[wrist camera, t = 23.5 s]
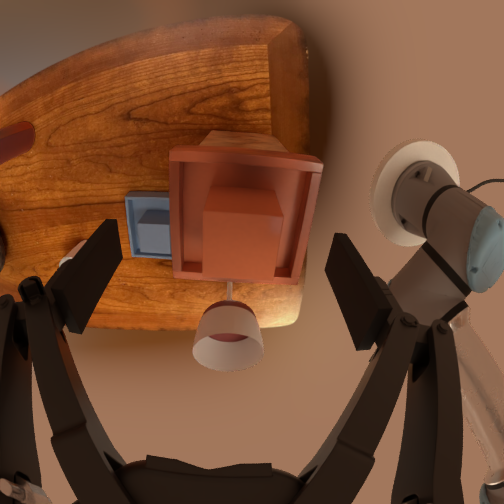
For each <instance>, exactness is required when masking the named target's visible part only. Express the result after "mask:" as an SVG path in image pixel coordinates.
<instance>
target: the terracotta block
mask: <svg viewBox="0 0 504 504" xmlns="http://www.w3.org/2000/svg"><path fill="white" fill-rule="evenodd" d="M283 221H284V215H283V213H282V210H281V207H280V204H279V201H278V198H277V196H276V193H275V191H274V190H264V189H252V188H239V187H224V186H210V190H209V193H208V196H207V199H206V203H205V206H204V209H203V230H202V276H203V277H214V278H230V279H248V280H268V281H273V279H274V273H275V268H276V262H277V256H278V250H279V245H280V239H281V233H282V227H283Z"/></svg>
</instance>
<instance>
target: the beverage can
mask: <svg viewBox="0 0 504 504" xmlns="http://www.w3.org/2000/svg"><path fill="white" fill-rule="evenodd" d="M34 139H35V132H34V128H33V126H32V125H31V124H30V123H28V122H25V121H24V122H20V123H17V124H14V125H11V126H8V127H5V128H2V129H0V164H2V163H4V162H6V161H8V160H10V159H13V158H15V157H17V156H19V155H21V154H23V153H25V152H27V151H29V150H30V149H31V147H32V145H33V143H34Z"/></svg>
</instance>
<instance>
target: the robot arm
mask: <svg viewBox="0 0 504 504" xmlns="http://www.w3.org/2000/svg"><path fill="white" fill-rule="evenodd" d="M491 182H504V179H490V180H486V181H484V182H482V183H480V184H478V185H476V186H474V187H473V188H471V189H469V190H467V191H465V190H463V189H462V188H460V187H458V186H457V184H456V183H455V182H454V180H453V179H452V178H451V176H450V175H449V174H448V173H447V171H446V170H445V169H444V168H443V167H441V166H440V165H438V164H436V163H434V162H431V161H418V162H415V163H413V164H411V165H410V166H408V167H407V168H406V169H405V170H404V171H403V172H402V173H401V175H400V176H399V178H398V179H397V181H396V183H395V186H394V188H393V192H392V197H391V208H392V213H393V216H394V218H395V220H396V222H397V223H398V224H399V225H400V226H401V227H402V228H403V229H404V230H405V231H407V232H409V233H411V234H414V235H416V236H419V237H422V238H425V239H427V240H426V241H425V243H424V244H423V245H422V246H421V247H420V248H419V250H418V251H417V252H416V253H415V254H414V256H413V257H412V258H411V259H410V260H409V261H408V263H407V264H406V265H405V266H404V267H403V268H402V269H401V270H400V271H399V272H398V274H397V275H396V276H395V277H394V278H393V279H391V280H390V281H389V283H388V285H387V284H386V282H384V281H383V280H382V279H381V278H380V277H374V276H373V274H372V273H371V271H370V269H369V268H368V266H367V265H366V263H365V262H364V260H363V258H362V257H361V255H360V254H359V252H358V251H357V249H356V248H355V246H354V245H353V243H352V242H351V240H350V239H349V237H348V236H347V234H343V233H335V234H334V238H333V242H332V245H331V249H330V253H329V256H328V260H327V263H326V267H325V272H326V275H327V277H328V280H329V282H330V284H331V287H332V289H333V292H334V294H335V296H336V299H337V302H338V304H339V307H340V309H341V312H342V314H343V317H344V319H345V322H346V324H347V327H348V329H349V332H350V335H351V337H352V340H353V343H354V345H355V348H356V351H359V350H369V349H371V347H372V345H373V344H374V342H375V343H376V345H377V349H376V351H375V352H374V354H373V355H372V357H371V359H370V360H369V362H370V363H369V365H368V367H367V369H366V371H365V373H364V375H363V377H362V379H361V381H360V383H359V385H358V387H357V388H356V390H355V392H354V394H353V396H352V398H351V399H350V401H349V403H348V405H347V406H346V408H345V410H344V411H343V413H342V415H341V416H340V418H339V420H338V422H337V423H336V425H335V426H334V428H333V429H332V431H331V433H330V434H329V436H328V437H327V439H326V440H325V442H324V443H323V445H322V446H321V448H320V449H319V451H318V452H317V454H316V455H315V456H314V458H313V459H312V460H311V461H310V462H309V464H308V465H307V466H306V467H305V468H304V469H303V470H302V472H301V473H300V474H299V475H298V477H296V476H294V475H292V474H290V473H288V472H285V471H282V470H279V469H274V468H272V466H271V463H260V464H237V465H232V466H227V467H222V468H216V469H209V470H208V469H203V468H200V467H197V466H194V465H191V464H188V463H185V462H182V461H179V460H177V459H169V458H163V457H157V456H151V455H147V457H146V460H140V461H135V462H131V463H129V464H126V463H125V461H124V460H123V458H122V457H121V456H120V454H119V453H118V452H117V451H116V449H115V448H114V446H113V445H112V443H111V441H110V440H109V438H108V436H107V434H106V432H105V430H104V428H103V427H102V425H101V423H100V421H99V419H98V417H97V415H96V413H95V411H94V408H93V406H92V404H91V402H90V400H89V398H88V395H87V393H86V391H85V388H84V386H83V384H82V381H81V379H80V376H79V374H78V371H77V368H76V366H75V364H74V360H73V358H72V355H71V352H70V349H69V346H68V343H67V340H66V336H65V334H64V331H63V327H64V325H65V323H66V326H67V327H68V329H69V332H72V333H77V334H82V333H83V331H84V329H85V327H86V325H87V323H88V321H89V319H90V317H91V315H92V313H93V311H94V309H95V307H96V305H97V303H98V301H99V299H100V297H101V296H102V294H103V292H104V290H105V288H106V286H107V285H108V283H109V281H110V279H111V278H112V276H113V274H114V272H115V271H116V269H117V267H118V265H119V264H120V262H121V260H122V259H123V256H122V250H121V244H120V238H119V231H118V224H117V219H106V220H105V221H104V222H103V223H102V224H101V225H100V226H99V227H98V229H97V230H96V231H95V232H94V233H93V234H92V235H91V237H90V238H89V239H88V240H87V241H86V242H85V244H84V245H83V246H82V247H81V248H80V250H79V251H78V252H77V253H76V255H75V256H74V257H73V258H72V259H68V260H66V261H65V262H64V263H62V264H61V265H60V267H59V268H58V269H57V271H56V272H55V273H54V274H53V276H52V277H51V278H50V280H49V281H48V282H47V284H46V285H45V286H44V287H43V284H42V282H41V279H40V278H39V277H38V276H31V277H28V278H26V279H24V280H23V281H22V282H21V283H20V284H19V286H18V291H19V293H20V296H21V298H22V300H23V301H22V302H15V300H14V298H13V296H12V295H10V294H6V295H3V296H1V297H0V504H52V502H51V500H50V499H49V498H48V497H47V495H46V494H45V492H44V491H43V490H42V484H41V473H40V467H39V461H38V455H37V449H36V442H35V433H34V424H33V411H32V362H33V367H34V371H35V375H36V380H37V383H38V387H39V391H40V394H41V398H42V401H43V405H44V408H45V411H46V414H47V417H48V420H49V423H50V426H51V429H52V431H53V436H52V437H51V444H52V447H53V450H54V452H55V455H56V457H57V459H58V461H59V463H60V466H61V468H62V470H63V472H64V474H65V476H66V478H67V480H68V482H69V484H70V486H71V488H72V490H73V492H74V493H75V495H76V497H77V499H78V500H76V501H75V502H74V503H72V504H351V503H352V502H353V500H354V499H355V497H356V495H357V493H358V492H359V490H360V489H361V487H362V485H363V484H364V482H365V480H366V478H367V476H368V475H369V473H370V471H371V469H372V467H373V465H374V462H375V458H374V457H373V455H374V452H375V450H376V448H377V446H378V444H379V442H380V439H381V437H382V435H383V433H384V431H385V429H386V426H387V424H388V422H389V419H390V417H391V414H392V412H393V409H394V407H395V404H396V402H397V399H398V397H399V393H400V391H401V388H402V385H403V382H404V379H405V376H406V373H407V370H408V383H407V399H406V411H405V421H404V429H403V437H402V443H401V450H400V455H399V462H398V466H397V471H396V476H395V480H394V485H393V490H392V496H391V504H464V499H463V492H462V485H461V479H460V477H461V467H462V450H463V416H464V418H465V420H466V422H467V424H468V426H469V427H470V429H471V431H472V433H473V435H474V437H475V439H476V441H477V443H478V445H479V447H480V449H481V451H482V453H483V456H484V458H485V459H486V462H487V464H488V466H489V468H488V470H487V472H486V474H485V477H484V482H485V483H484V484H483V485H482V487H481V489H480V496H479V498H480V504H504V374H503V373H502V371H501V369H500V368H499V366H498V364H497V363H496V361H495V360H494V358H493V356H492V355H491V353H490V352H489V350H488V349H487V347H486V346H485V344H484V343H483V341H482V340H481V338H480V337H479V336H478V334H477V333H476V331H475V330H474V329H473V327H472V326H471V324H470V307H469V306H468V305H467V303H466V302H465V301H464V299H465V298H466V297H467V296H468V295H469V294H470V292H471V291H474V292H477V293H483V292H485V291H486V290H487V289H488V288H491V287H492V286H493V285H494V284H495V282H496V281H497V280H498V279H499V277H500V275H501V274H502V272H503V270H504V218H503V217H502V216H500V215H499V214H498V213H497V212H496V211H495V210H494V209H493V208H492V207H491V206H488V205H486V204H485V203H483V202H482V201H480V200H479V199H477V198H476V197H474V196H473V195H471V194H470V192H472V191H474V190H475V189H477V188H479V187H480V186H482V185H484V184H487V183H491Z"/></svg>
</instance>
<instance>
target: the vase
mask: <svg viewBox="0 0 504 504" xmlns="http://www.w3.org/2000/svg"><path fill="white" fill-rule="evenodd" d="M5 254H6V252H5V248H4V244H3V239H2V235H1V233H0V272H1V270H2V269H3V266H4V263H5Z"/></svg>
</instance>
